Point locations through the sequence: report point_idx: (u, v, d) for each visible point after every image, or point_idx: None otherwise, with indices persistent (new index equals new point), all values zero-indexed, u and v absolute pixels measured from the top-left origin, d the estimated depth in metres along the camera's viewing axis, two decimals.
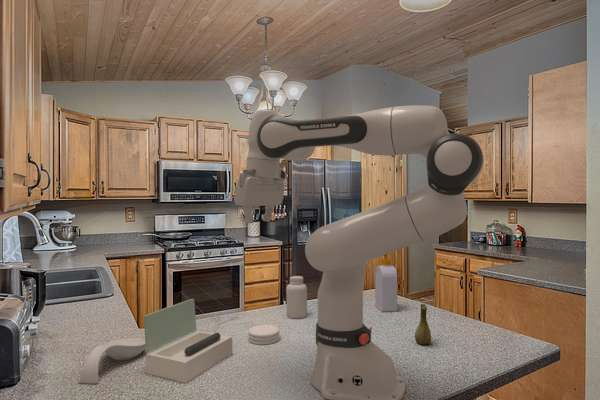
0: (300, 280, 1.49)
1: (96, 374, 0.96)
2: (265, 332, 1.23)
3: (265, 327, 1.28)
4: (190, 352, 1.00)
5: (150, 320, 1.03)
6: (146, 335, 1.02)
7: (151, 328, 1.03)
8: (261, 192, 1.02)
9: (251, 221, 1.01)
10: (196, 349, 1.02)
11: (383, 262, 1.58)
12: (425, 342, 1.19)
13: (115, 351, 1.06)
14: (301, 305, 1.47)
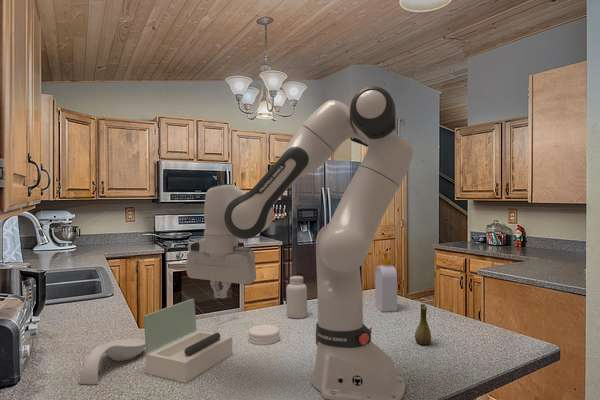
0: (300, 280, 1.49)
1: (96, 375, 0.96)
2: (265, 332, 1.23)
3: (265, 327, 1.28)
4: (190, 352, 1.00)
5: (150, 320, 1.03)
6: (146, 335, 1.02)
7: (151, 328, 1.03)
8: None
9: None
10: (196, 349, 1.02)
11: (383, 262, 1.58)
12: (425, 342, 1.19)
13: (115, 352, 1.05)
14: (301, 305, 1.47)
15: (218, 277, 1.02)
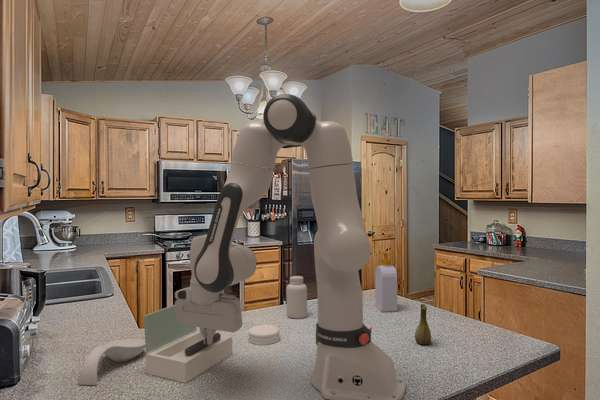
0: (300, 280, 1.49)
1: (95, 375, 0.95)
2: (265, 332, 1.23)
3: (265, 327, 1.28)
4: (190, 352, 1.00)
5: (150, 320, 1.03)
6: (146, 335, 1.02)
7: (151, 328, 1.03)
8: None
9: None
10: (196, 349, 1.02)
11: (383, 262, 1.58)
12: (425, 342, 1.19)
13: (114, 352, 1.05)
14: (301, 305, 1.47)
15: (205, 324, 1.03)
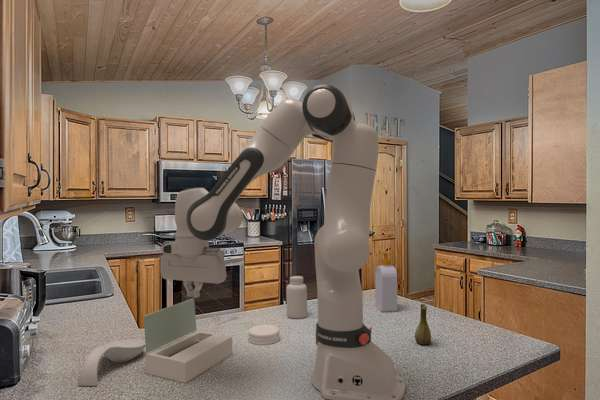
0: (300, 280, 1.49)
1: (95, 376, 0.95)
2: (265, 332, 1.23)
3: (265, 327, 1.28)
4: None
5: (150, 320, 1.03)
6: (146, 335, 1.02)
7: (151, 328, 1.03)
8: None
9: None
10: None
11: (383, 262, 1.58)
12: (425, 342, 1.19)
13: (114, 353, 1.05)
14: (301, 305, 1.47)
15: (190, 277, 1.06)
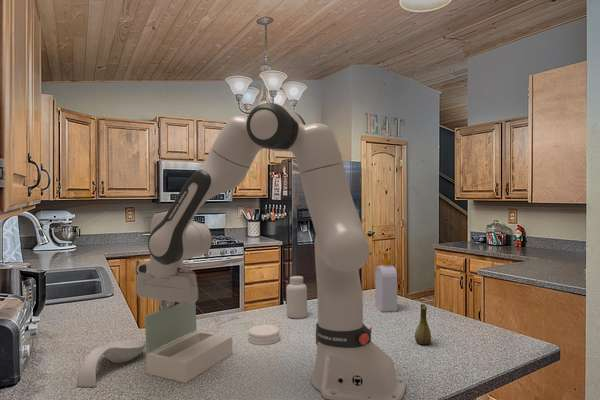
0: (300, 280, 1.49)
1: (94, 377, 0.94)
2: (265, 332, 1.23)
3: (265, 327, 1.28)
4: None
5: (151, 320, 1.03)
6: (147, 335, 1.02)
7: (152, 328, 1.03)
8: None
9: None
10: None
11: (383, 262, 1.58)
12: (425, 342, 1.19)
13: (113, 354, 1.04)
14: (301, 305, 1.47)
15: (163, 297, 1.10)
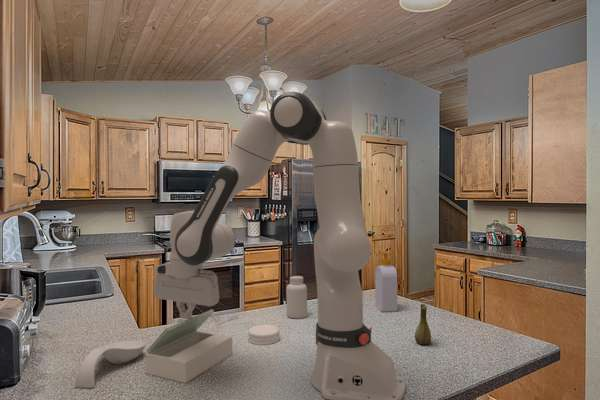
0: (300, 280, 1.49)
1: (92, 378, 0.94)
2: (265, 332, 1.23)
3: (265, 327, 1.28)
4: None
5: (168, 333, 1.01)
6: (156, 342, 1.01)
7: (164, 338, 1.02)
8: None
9: None
10: None
11: (383, 262, 1.58)
12: (425, 342, 1.19)
13: (112, 354, 1.04)
14: (301, 305, 1.47)
15: (183, 299, 1.07)
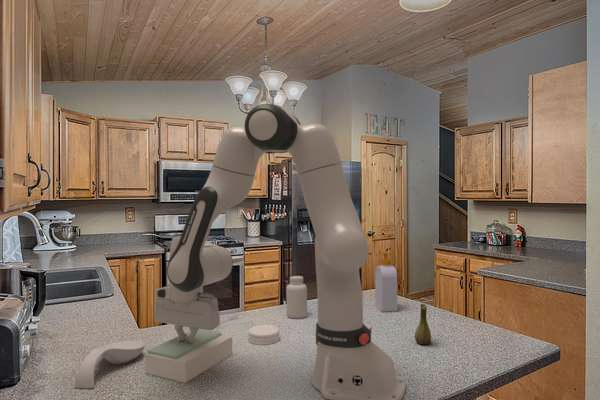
0: (300, 280, 1.49)
1: (92, 378, 0.94)
2: (265, 332, 1.23)
3: (265, 327, 1.28)
4: None
5: None
6: (160, 355, 1.00)
7: None
8: None
9: None
10: None
11: (383, 262, 1.58)
12: (425, 342, 1.19)
13: (112, 355, 1.03)
14: (301, 305, 1.47)
15: (183, 322, 1.06)
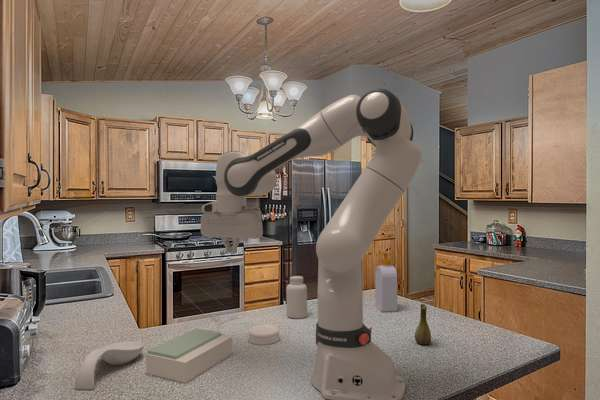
0: (300, 280, 1.49)
1: (92, 380, 0.93)
2: (265, 332, 1.23)
3: (265, 327, 1.28)
4: None
5: None
6: (160, 355, 1.00)
7: None
8: None
9: None
10: None
11: (383, 262, 1.58)
12: (425, 342, 1.19)
13: (111, 356, 1.03)
14: (301, 305, 1.47)
15: (229, 234, 1.15)
